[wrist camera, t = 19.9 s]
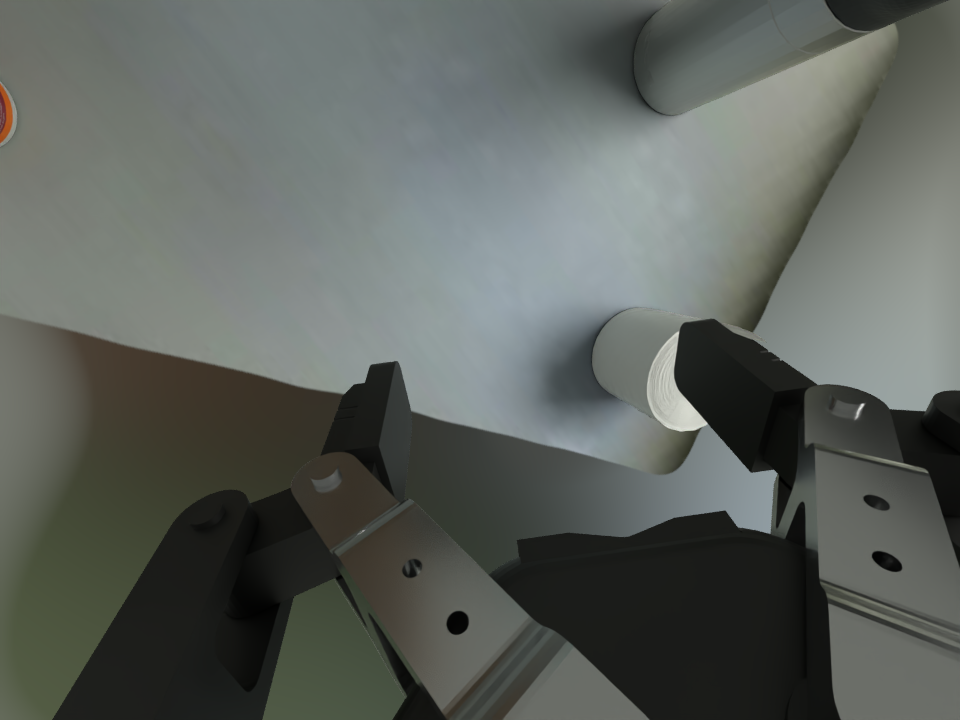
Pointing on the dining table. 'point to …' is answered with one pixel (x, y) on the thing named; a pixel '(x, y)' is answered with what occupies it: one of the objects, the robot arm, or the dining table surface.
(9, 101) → the pill bottle
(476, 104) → the dining table surface
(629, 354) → the toilet tissue
